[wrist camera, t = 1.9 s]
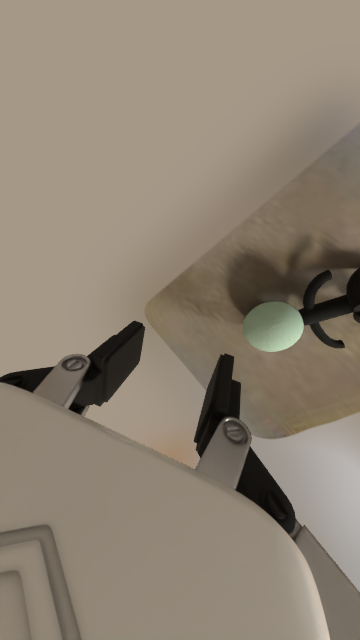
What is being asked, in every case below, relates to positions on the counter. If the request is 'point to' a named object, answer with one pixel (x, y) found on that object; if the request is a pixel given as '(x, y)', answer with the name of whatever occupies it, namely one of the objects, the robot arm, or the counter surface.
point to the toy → (300, 316)
